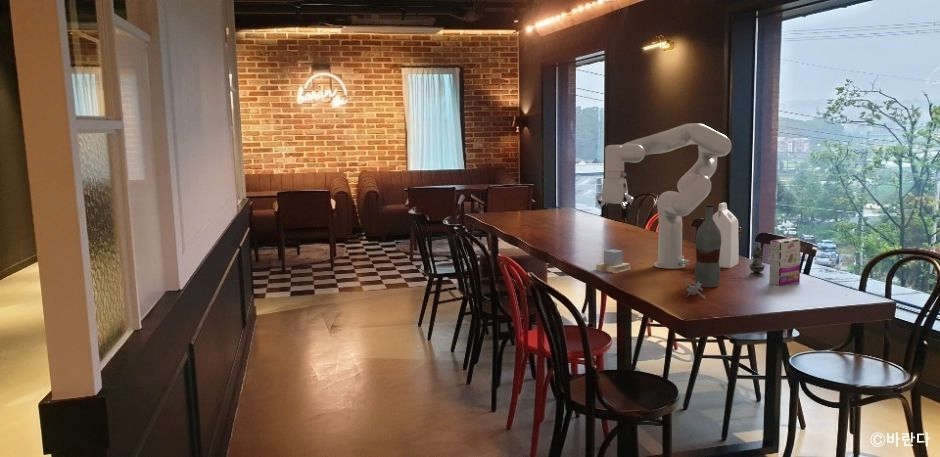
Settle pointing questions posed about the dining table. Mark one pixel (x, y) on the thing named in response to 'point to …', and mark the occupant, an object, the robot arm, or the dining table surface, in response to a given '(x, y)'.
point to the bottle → (708, 251)
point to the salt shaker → (757, 263)
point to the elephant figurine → (694, 289)
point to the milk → (727, 236)
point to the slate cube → (613, 257)
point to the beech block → (613, 267)
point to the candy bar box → (785, 261)
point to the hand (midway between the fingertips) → (614, 217)
